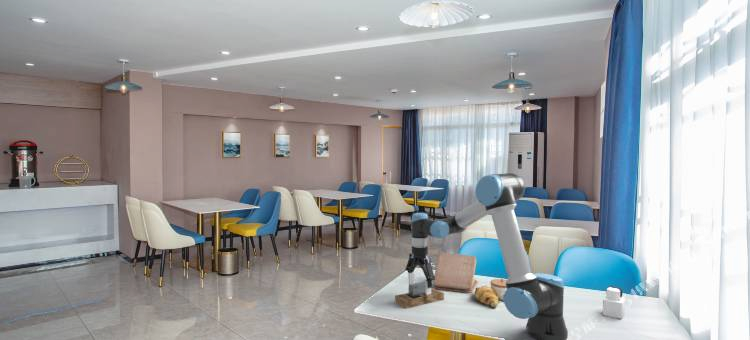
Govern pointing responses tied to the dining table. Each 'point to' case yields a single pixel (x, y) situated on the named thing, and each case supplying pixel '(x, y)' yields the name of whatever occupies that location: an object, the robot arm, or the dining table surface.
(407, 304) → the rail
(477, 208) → the robot arm
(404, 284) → the dining table surface
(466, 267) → the case
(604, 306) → the medicine bottle
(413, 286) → the grey bridge block
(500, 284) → the lidded jar
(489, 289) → the croissant
